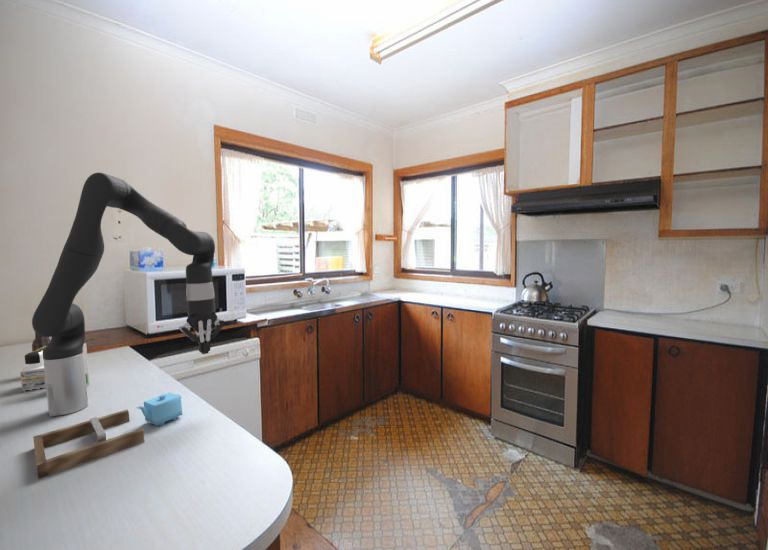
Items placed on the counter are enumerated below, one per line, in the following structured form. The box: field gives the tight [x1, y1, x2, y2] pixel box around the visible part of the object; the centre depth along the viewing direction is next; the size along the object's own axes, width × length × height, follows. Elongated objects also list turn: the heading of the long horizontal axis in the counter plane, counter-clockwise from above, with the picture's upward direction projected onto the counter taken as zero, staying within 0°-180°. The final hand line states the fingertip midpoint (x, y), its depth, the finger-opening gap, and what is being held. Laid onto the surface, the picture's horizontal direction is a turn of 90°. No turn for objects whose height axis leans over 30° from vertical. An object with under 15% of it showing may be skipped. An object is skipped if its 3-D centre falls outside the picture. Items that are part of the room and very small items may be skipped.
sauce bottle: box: [31, 331, 51, 352], centre depth 145 cm, size 7×6×20 cm
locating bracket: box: [32, 409, 145, 480], centre depth 90 cm, size 20×18×3 cm
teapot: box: [135, 392, 183, 427], centre depth 102 cm, size 12×6×8 cm, turn 148°
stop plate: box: [89, 416, 107, 444], centre depth 92 cm, size 2×13×4 cm, turn 46°
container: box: [19, 350, 46, 392], centre depth 132 cm, size 8×8×13 cm
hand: (204, 353), depth 110 cm, fingers closed
